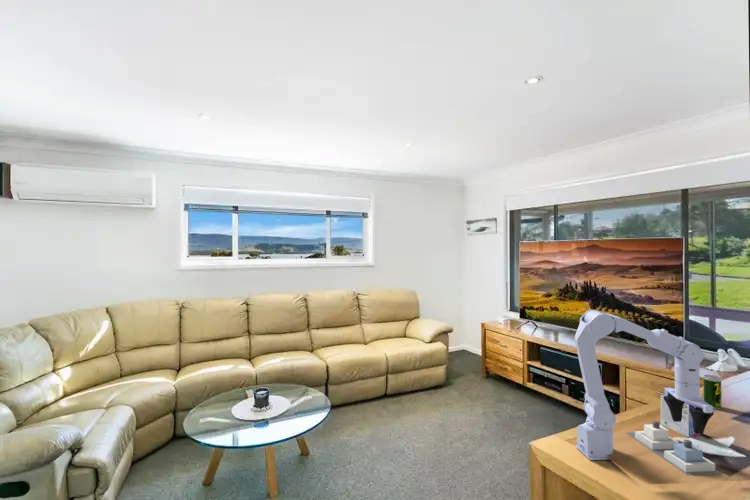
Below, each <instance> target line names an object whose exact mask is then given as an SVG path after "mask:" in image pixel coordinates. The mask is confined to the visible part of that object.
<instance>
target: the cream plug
mask: <svg viewBox="0 0 750 500" xmlns="http://www.w3.org/2000/svg"><path fill="white" fill-rule="evenodd" d="M643 431H644V436H646V437H647V438H649V439H650V440H652V441H669V435H670V432H669V431H670V430H669V428H668V429H667V427H665V426H663V425H661V422H659V421H657V420H653V421H652V423H650V424H643Z"/></svg>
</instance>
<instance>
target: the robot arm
mask: <svg viewBox="0 0 750 500" xmlns="http://www.w3.org/2000/svg"><path fill="white" fill-rule="evenodd" d="M613 332H614V333H619V332H625V333H628V334H630V335H633V336H636V337H638V338H641V339H644V340H646V342H647V344H648V346H649V347H652V348H654V349H656V350H659V351H660V352H663V353H666V354H668V355H670V356H673V357H674V387H664V394H667V396H664V400H665V402H666V403H667V405H668V407H669V410H670V413H671V416H672V419H673V421H674V422H681V420H682V409H683V405H684V402H686V403H688V404H690V405H692V406H695V407H696V409H695V408H694V409H689V411H690V413H691V416H692V420H693V428H694V432H695V433H696V434H700V435H703V434H704V432H705V430H706V426H707V424H708V422H709V421H710V419H711V418H712V416H714V413H715V412H714V409H713V406H711V405H709V404H708V403H706V402H705V401H704V399H703V396H701V395H700V394H701V392H700V391H701V390H700V389H701V387H700V383H701V381H700V366H701V365H700V364H701V362H702V361H704V358H705V353H703V350H702V348H700V346H699V345H698V344H696V343H693V342H691V341H688V340H686V339H685V337H683V336H676V335H674V334H671V333H669V330H666V329H664V328H661V329H658V328H655V329H652V330H650V329H647V328H645V327H644V326H641V325H638V324H636V323H633V322H632V321H630V320H627V319H625V318H622V317H620V316H618V315H614V314H612V313H611V314H610V313H607V312H601V311H600V310H597V309H590V310H587V311H586V312H585V313H584V314H583V315H582V316H581V317H580V318H579V325H578V327H577V330H576V332H575V335H574V342H575V348H576V353H577V357H578V362H579V367H580V371H581V377H582V380H583V381H582V382H583V385H584V390H585V394H584V403H583V410H584V413H585V414H587V417H586V419H585V422H583V423H582V424H578V426H577V427H576V445H575V448H576V449H577V450H578V451H580V453H582V455H583V456H585V458H587V459H588V460H590V461H597V460H598V461H602V460H603V461H604V460H605V461H606V460H607V461H608V460H613V458H612V457H610V456H609V455H612V454H614V429H613V428H614V427H615V425H616V422H617V419H616V416H615V413H614V412H613V411H612V410H611V407H610V403H609V402H608V398H607V397H606V395H605V390H604V386H603V381H602V376H601V372H600V368H599V363H598V358H597V352H596V349H595V344H596V343H597V342H599V340H600V339H603V338H604V337H606V336H608V335H610V334H611V333H613Z"/></svg>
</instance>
